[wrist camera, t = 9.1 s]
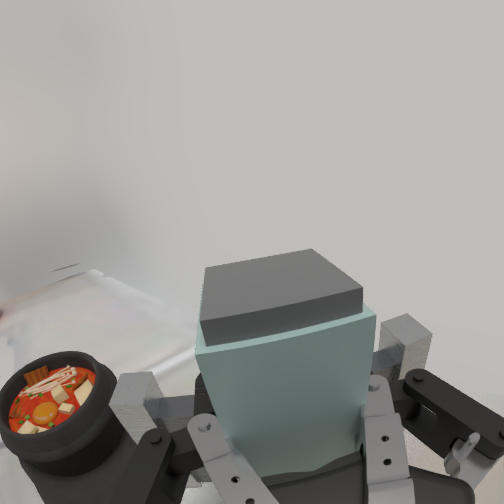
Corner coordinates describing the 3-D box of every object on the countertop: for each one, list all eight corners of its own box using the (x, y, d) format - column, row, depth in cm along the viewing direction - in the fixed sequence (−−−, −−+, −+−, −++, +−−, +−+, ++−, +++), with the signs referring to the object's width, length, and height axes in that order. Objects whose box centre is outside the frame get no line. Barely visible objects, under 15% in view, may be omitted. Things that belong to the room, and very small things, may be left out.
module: (320, 430, 15) (316, 245, 11) (345, 486, 10) (377, 288, 7) (247, 446, 14) (198, 266, 11) (257, 507, 10) (186, 328, 6)
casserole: (25, 401, 25) (-3, 356, 22) (118, 365, 35) (97, 318, 33) (41, 537, 5) (-24, 492, 3) (196, 488, 16) (158, 440, 14)
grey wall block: (377, 399, 23) (390, 300, 20) (401, 434, 17) (432, 333, 14) (177, 443, 21) (129, 354, 18) (175, 487, 16) (108, 404, 13)
